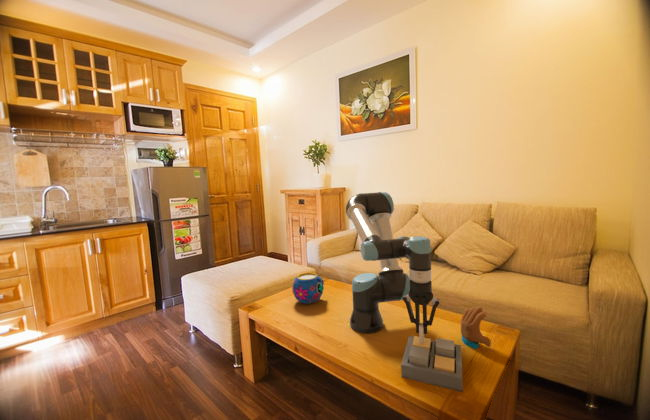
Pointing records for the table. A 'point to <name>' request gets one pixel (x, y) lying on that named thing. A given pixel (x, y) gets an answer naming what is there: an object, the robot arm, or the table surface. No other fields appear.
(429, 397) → the table surface
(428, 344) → the ochre button far left
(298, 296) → the ceramic pot
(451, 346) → the grey button far right
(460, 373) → the button board
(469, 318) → the toy
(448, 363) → the ochre button near right
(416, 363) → the grey button near left
